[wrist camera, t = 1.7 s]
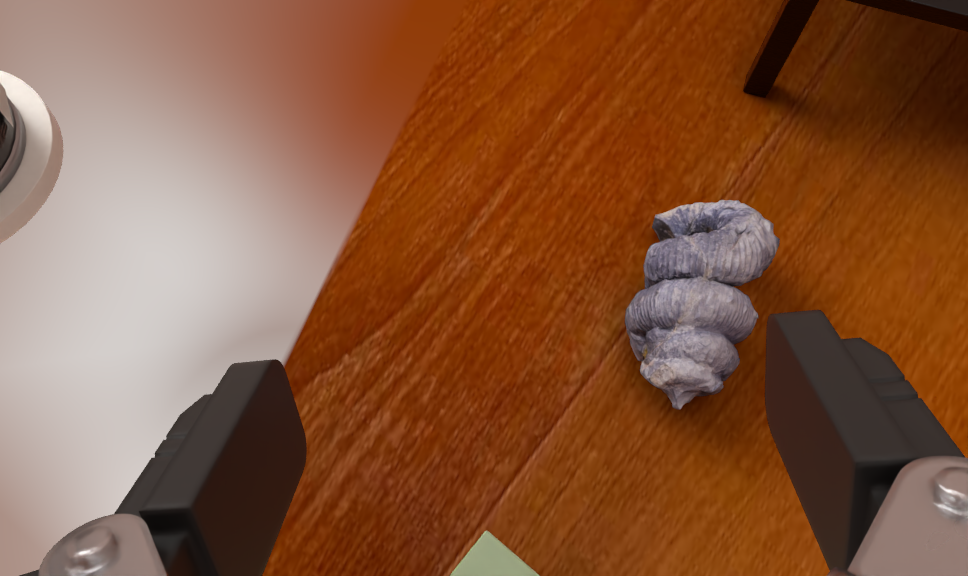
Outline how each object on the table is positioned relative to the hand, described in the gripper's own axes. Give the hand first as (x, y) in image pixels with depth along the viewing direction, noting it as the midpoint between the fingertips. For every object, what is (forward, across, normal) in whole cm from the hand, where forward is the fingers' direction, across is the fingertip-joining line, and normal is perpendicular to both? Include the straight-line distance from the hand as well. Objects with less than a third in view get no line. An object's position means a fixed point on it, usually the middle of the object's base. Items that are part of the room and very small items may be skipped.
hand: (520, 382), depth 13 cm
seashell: (+20, -6, +11) cm, 23 cm away
